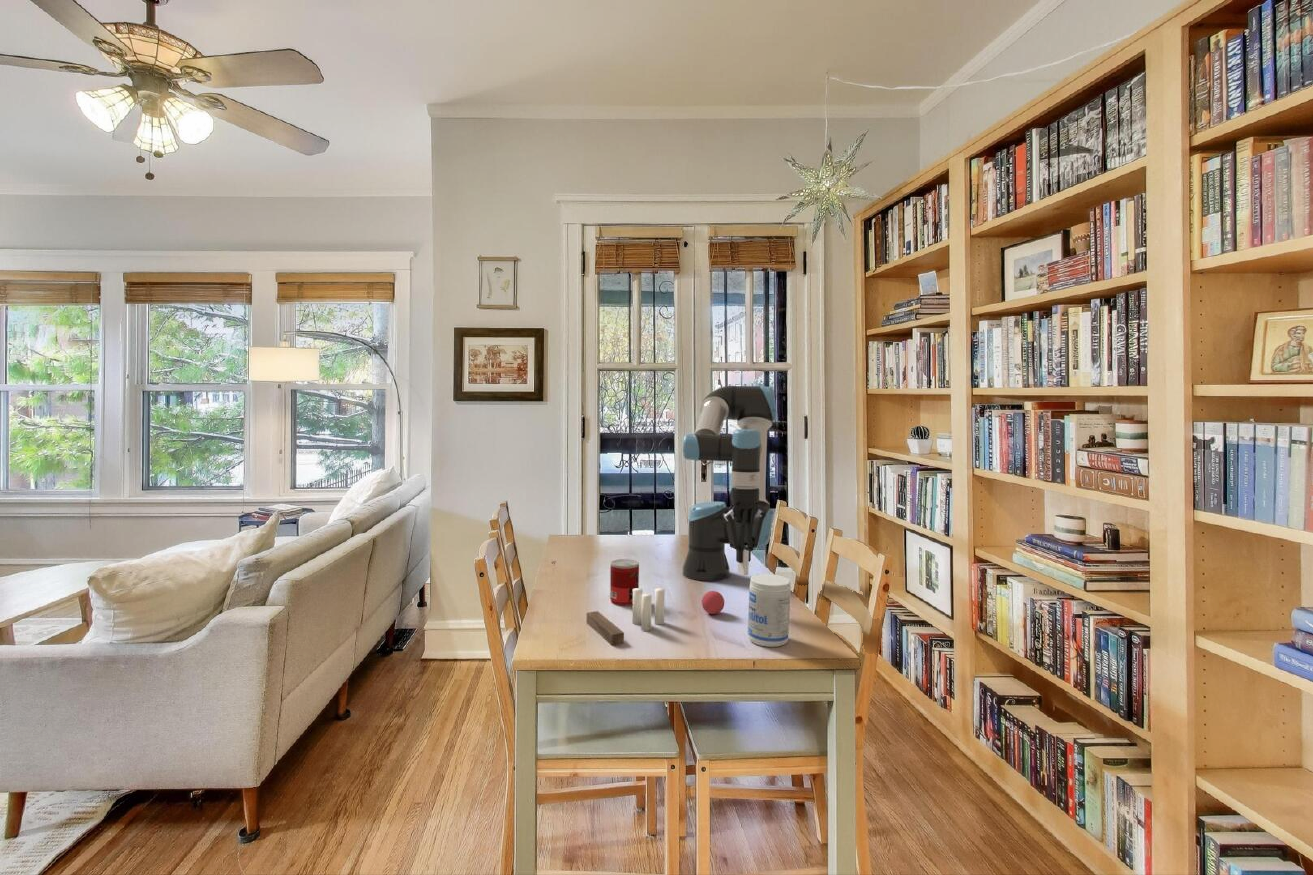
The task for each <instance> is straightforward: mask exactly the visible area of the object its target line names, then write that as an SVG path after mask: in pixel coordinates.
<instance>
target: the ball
mask: <svg viewBox="0 0 1313 875" xmlns="http://www.w3.org/2000/svg"><path fill="white" fill-rule="evenodd" d="M701 607H702V609H703V610H704V611H705V612H706V613H708V614H709V615H716V614H719V613H721V612H722V611H723V609H724V607H725V599H724V596H723V595H722V593H720V592H718V591H717V590H710V591H707V592H705V593H704V594H703V596H702V598H701Z"/></svg>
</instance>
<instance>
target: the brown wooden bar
mask: <svg viewBox="0 0 1313 875" xmlns="http://www.w3.org/2000/svg"><path fill="white" fill-rule="evenodd" d="M586 624H587V625H588V626H590V627H591V628H592V629H593V630H594V631H595V632H597V633H598V634H599V635H600V636H601V637H602V638H603V639H604V640H605V641H606V642H608V643H609V645H611V646H615V645H621V644H624V643H625V632H624V631H623V630H621V629H620V628H619V627H618V626H616V624H614V623H613V622H612V621H611V620H609V619H608V618H607V617H605V615H603V614H602V613H601V612H600V611H598V610H595V611H590V612H586Z"/></svg>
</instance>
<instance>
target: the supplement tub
mask: <svg viewBox="0 0 1313 875" xmlns="http://www.w3.org/2000/svg"><path fill="white" fill-rule="evenodd" d="M791 587H792V586H791V580H790V579H789V578H787V577H785V576H783V575H778V574H771V573H759V574H755V575H753V576H751V578H750V582H749V590H748V592H749V593H748V615H747V616H748V617H747V618H748V619H747V638H748V639H749V641H750V642H752V643H753V644H755V645H758V646H762V647H768V648H777V647H782V646H785V645H786V644H787V643H788V641H789V636H790V635H789V634H790V633H789V631H790V627H789V626H790V616H791V615H790V614H791V613H790V612H791V611H790V610H791V594H792V593H791V589H792V588H791Z"/></svg>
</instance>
